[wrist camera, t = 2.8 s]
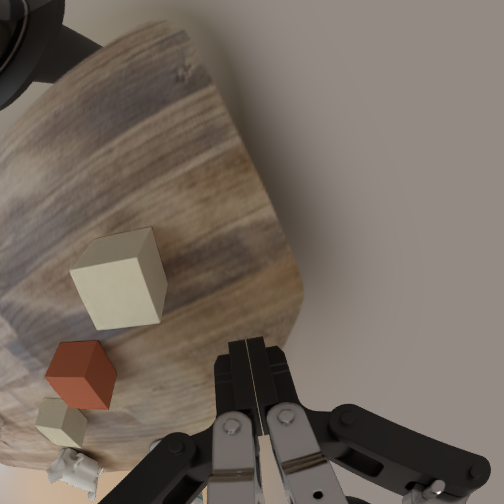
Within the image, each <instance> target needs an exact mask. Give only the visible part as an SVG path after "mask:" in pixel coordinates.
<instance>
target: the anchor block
mask: <svg viewBox="0 0 504 504" xmlns="http://www.w3.org/2000/svg"><path fill="white" fill-rule="evenodd" d="M116 376H117V372H116V371H115V369H114V367H113V366H112V364H111V362H110V361H109V359H108V357H107V356H106V354H105V352H104V351H103V349H102V347H101V345H100V344H99V342H98V340H94V341H81V342H66V343H60V344H59V346H58V348H57V350H56V353H55V355H54V357H53V359H52V361H51V363H50V366H49V368H48V370H47V372H46V375H45V378H46V380H47V381H48V382H49V383H50V385H51V386H52V387H53V388H54V390H55V391H56V392H57V393H58V395H59V396H60V397H61V398H62V399H63V401H64V402H65V403H66V404H67V405H68V406H69V407H70V408H76V409H99V410H109V407H110V402H111V398H112V393H113V389H114V385H115V380H116Z"/></svg>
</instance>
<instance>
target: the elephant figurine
mask: <svg viewBox="0 0 504 504" xmlns="http://www.w3.org/2000/svg"><path fill="white" fill-rule="evenodd" d="M77 457H79V458H77ZM98 469H99V466H98V462H97V461H95V460H93V459H91V458H89V457H87V456H85V455H84V454H82V453H79V454H77V452H76V451H75V450H73V449H71V448H67V449H66V450H65V449H62V450H61V451H60V453H59V455H58V457H57V460H55V461H54V462H52V464H51V466H50V468H49V469H47V474H48V478H49V481H50V483H53V482H56V481H58V480H62V481H64V482H66V483H68V484H70V485H72V486H74V487H76V488H79V489H81V490H87V491H89V493H88V498H89V500H90V501H93V500H95V497H96V490H97V481H98V477H99V476H101V474H102V472H103V469H104V467H103V468H102V470H101V471H100V472H99V473H98Z"/></svg>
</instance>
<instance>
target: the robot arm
mask: <svg viewBox="0 0 504 504" xmlns="http://www.w3.org/2000/svg"><path fill="white" fill-rule="evenodd" d="M29 23H30V6H29V3H28V2H27V0H0V75H1V74H2V73H3V72H4V71H5V70H6V69H7V67H8V66H9V65H10V63H11V62H12V61H13V59H14V58H15V56H16V54H17V53H18V51H19V49H20V47H21V45H22V43H23V41H24V39H25V36H26V34H27V30H28V27H29ZM246 341H247V346H248V352H249V358H250V363H251V368H250V363H249V358H248V353H247V348H246V343H245V340H239V341H233V342H228V345H229V354H226V355H220V356H218V357H217V360H216V362H215V364H214V375H215V394H216V410H217V415H216V419H215V421H214V423H213V424H212V425H211V426H210V427H209V428H208V429H206V430H204V431H202V432H200V433H197V434H195V435H192V436H189V435H187V434H185V433H181V432H175V433H171V434H169V435H167V436H165V437H164V438H163V439H162V440H161V441H160V442H159V443H158V444H157V445H156V446H155V447H154V448H153V450H152V451H151V452H150V453H149V454H148V455H147V456H146V457H145V458H144V459H143V460H142V461H141V462H140V463H139V464H138V465H137V466H136V467H135V468H134V469H133V470H132V471H131V472H130V473H129V474H128V475H127V476H126V477H125V478H124V479H123V480H122V481H121V482H120V483H119V484H118V485H117V486H116V487H115V488H114V489H113V490H112V491H111V492H110V493H108V494H107V495H106V496H105V497H104V498H103V499H102V500H101V501H100V502H99V503H98V504H191V503H192V502H193V501H194V500H195V499H196V497H197V496H198V495H199V494H200V493H201V492H202V490H203V489H204V488H205V487H206V486H207V504H265V501H264V495H263V488H262V476H261V465H260V453H259V452H260V446H259V441H258V436H262V429H261V423H260V418H259V413H258V408H257V402H258V407H259V412H260V417H261V422H262V426H263V431H264V435H268V434H269V436H270V441H271V445H272V450H273V454H274V457H275V460H276V464H277V467H278V470H279V473H280V476H281V479H282V483H283V486H284V489H285V493H286V496H287V499H288V503H289V504H370V503H368V502H366V501H364V500H361V499H359V498H355V497H351V496H345V495H344V493H343V491H342V488H341V486H340V484H339V481H338V479H337V477H336V475H335V472H334V470H333V468H332V466H331V463H330V461H332V462H334V463H336V464H338V465H339V466H341V467H343V468H345V469H347V470H348V471H350V472H352V473H354V474H356V475H358V476H360V477H362V478H364V479H366V480H368V481H370V482H373V483H375V484H377V485H379V486H381V487H383V488H385V489H388V490H390V491H392V492H394V493H397V494H399V495H402V496H404V497H403V500H402V504H466V502H467V499H468V497H469V496H470V494H471V493H473V492H474V491H476V490H477V489H479V488H480V487H481V486H483V485H484V484H485V483H486V482H487V480H488V479H489V476H490V473H491V467H490V463H489V461H488V460H487V459H486V458H484V457H483V456H480V455H477V454H474V453H471V452H468V451H465V450H462V449H459V448H456V447H454V446H451V445H448V444H445V443H443V442H440V441H437V440H435V439H432V438H430V437H427V436H425V435H422V434H420V433H417V432H415V431H412V430H410V429H408V428H405V427H403V426H400V425H398V424H396V423H394V422H391V421H389V420H387V419H385V418H383V417H380V416H378V415H376V414H374V413H372V412H369V411H367V410H365V409H363V408H361V407H359V406H357V405H354V404H343V405H340V406H338V407H336V408H335V409H333V410H332V412H324V411H312V410H310V409H307V408H306V407H304V406H303V405H302V404H301V403H300V401H299V399H298V396H297V393H296V390H295V386H294V383H293V380H292V377H291V373H290V371H289V367H288V364H287V360H286V357H285V354H284V352H283V351H282V350H281V349H280V348H279V347H278V346H272V347H267V348H265V343H264V339H263V336H261V337H256V338H250V339H246ZM251 369H252V374H251ZM252 375H253V379H252ZM253 380H254V385H253ZM254 386H255V391H256V396H255V391H254ZM256 397H257V402H256ZM329 460H330V461H329Z"/></svg>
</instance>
